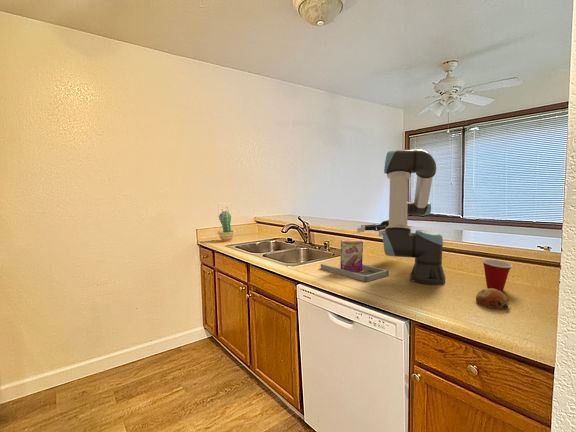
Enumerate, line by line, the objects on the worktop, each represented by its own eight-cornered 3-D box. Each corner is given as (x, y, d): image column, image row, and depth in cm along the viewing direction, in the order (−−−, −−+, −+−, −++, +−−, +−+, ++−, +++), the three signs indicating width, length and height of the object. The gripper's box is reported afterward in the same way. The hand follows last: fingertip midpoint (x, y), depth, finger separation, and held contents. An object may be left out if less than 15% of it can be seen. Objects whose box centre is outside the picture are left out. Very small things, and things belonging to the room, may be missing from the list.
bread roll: (498, 311, 119) (493, 289, 122) (518, 309, 110) (512, 286, 112) (473, 311, 119) (469, 290, 122) (490, 309, 109) (485, 286, 112)
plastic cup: (506, 295, 125) (508, 266, 124) (476, 289, 134) (478, 261, 133) (514, 289, 132) (516, 262, 131) (486, 283, 141) (487, 257, 140)
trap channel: (388, 275, 155) (388, 270, 155) (366, 281, 145) (366, 276, 144) (342, 263, 179) (342, 259, 179) (320, 268, 169) (320, 264, 169)
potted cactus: (215, 240, 262) (214, 210, 260) (232, 238, 270) (232, 210, 267) (220, 243, 249) (219, 212, 247) (238, 241, 256) (238, 211, 254)
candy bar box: (340, 272, 161) (341, 241, 160) (340, 269, 166) (340, 239, 165) (362, 272, 160) (363, 241, 159) (361, 270, 165) (361, 239, 163)
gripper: (408, 235, 175) (388, 242, 161) (370, 230, 193) (349, 235, 179) (409, 222, 174) (389, 227, 160) (370, 218, 192) (349, 222, 178)
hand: (368, 231), depth 169 cm, fingers open, 13 cm apart
